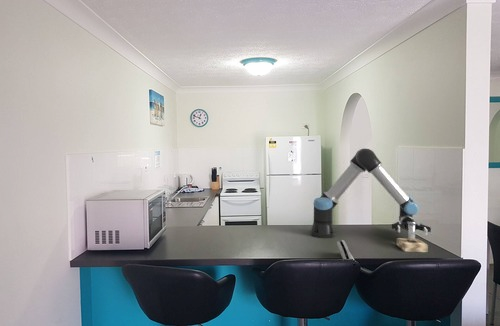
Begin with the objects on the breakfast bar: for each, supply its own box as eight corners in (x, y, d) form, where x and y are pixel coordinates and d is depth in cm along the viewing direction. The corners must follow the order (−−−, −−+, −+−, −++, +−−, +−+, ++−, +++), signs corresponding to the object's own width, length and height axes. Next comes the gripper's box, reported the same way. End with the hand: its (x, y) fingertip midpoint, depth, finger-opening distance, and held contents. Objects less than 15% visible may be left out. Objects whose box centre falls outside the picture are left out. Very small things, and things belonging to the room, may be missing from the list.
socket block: (404, 251, 176) (405, 244, 176) (396, 244, 188) (396, 238, 188) (427, 252, 175) (427, 244, 175) (417, 245, 187) (418, 238, 187)
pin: (408, 249, 180) (409, 222, 179) (405, 247, 184) (405, 221, 184) (417, 249, 180) (417, 222, 179) (413, 247, 184) (414, 221, 183)
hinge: (356, 264, 155) (349, 245, 155) (347, 267, 156) (340, 248, 156) (349, 253, 172) (343, 236, 172) (341, 256, 172) (335, 238, 172)
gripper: (430, 230, 195) (438, 240, 175) (385, 227, 203) (388, 235, 183) (430, 218, 194) (438, 226, 174) (386, 215, 202) (388, 222, 182)
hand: (412, 231), depth 178 cm, fingers open, 13 cm apart
